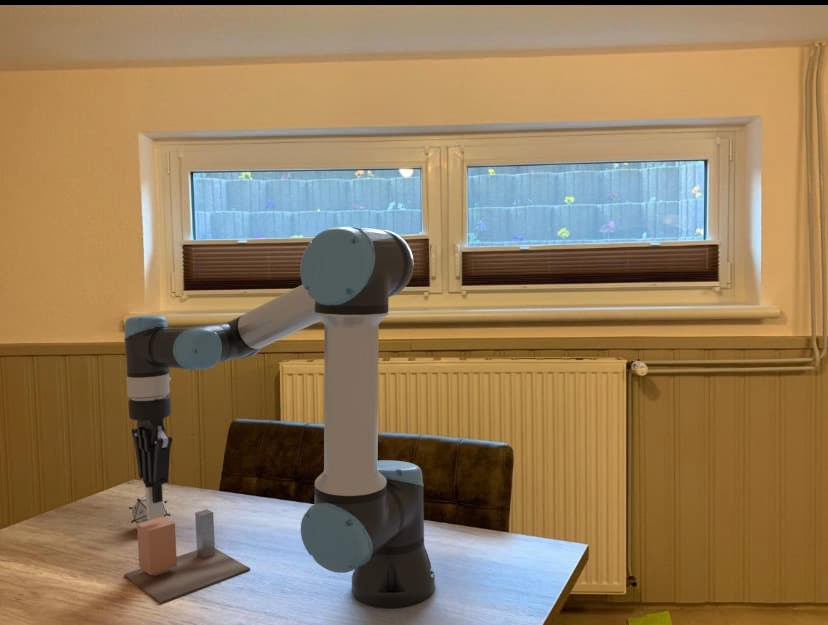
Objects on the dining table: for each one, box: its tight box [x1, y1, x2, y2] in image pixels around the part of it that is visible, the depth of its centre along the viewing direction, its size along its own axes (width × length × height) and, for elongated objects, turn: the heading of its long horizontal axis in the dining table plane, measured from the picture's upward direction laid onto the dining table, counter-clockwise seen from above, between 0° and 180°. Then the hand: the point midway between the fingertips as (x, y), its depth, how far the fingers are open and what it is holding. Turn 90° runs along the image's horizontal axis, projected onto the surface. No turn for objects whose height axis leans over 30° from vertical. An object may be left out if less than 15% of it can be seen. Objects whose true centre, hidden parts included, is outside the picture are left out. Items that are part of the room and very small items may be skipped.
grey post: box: [194, 509, 216, 559], centre depth 138 cm, size 3×3×9 cm
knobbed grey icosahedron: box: [128, 495, 171, 525], centre depth 155 cm, size 9×8×10 cm
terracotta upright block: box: [136, 517, 178, 575], centre depth 131 cm, size 5×5×9 cm
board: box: [123, 547, 251, 605], centre depth 131 cm, size 16×18×1 cm
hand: (155, 517), depth 131 cm, fingers closed
